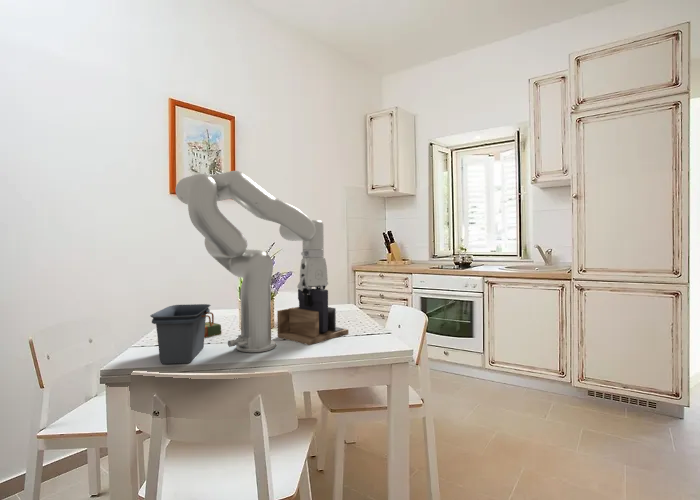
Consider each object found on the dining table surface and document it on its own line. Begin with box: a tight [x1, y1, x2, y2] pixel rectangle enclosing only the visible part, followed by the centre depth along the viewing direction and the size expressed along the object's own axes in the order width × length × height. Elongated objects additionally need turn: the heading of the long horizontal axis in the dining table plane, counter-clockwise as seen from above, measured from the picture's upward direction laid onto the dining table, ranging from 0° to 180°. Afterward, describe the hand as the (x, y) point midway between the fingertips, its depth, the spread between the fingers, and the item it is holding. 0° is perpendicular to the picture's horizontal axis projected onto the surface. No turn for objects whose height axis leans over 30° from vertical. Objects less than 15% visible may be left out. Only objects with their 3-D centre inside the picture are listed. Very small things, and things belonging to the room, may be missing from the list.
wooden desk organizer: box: [276, 306, 349, 346], centre depth 151 cm, size 20×16×10 cm
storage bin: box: [149, 303, 215, 365], centre depth 126 cm, size 21×16×14 cm
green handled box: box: [204, 321, 222, 339], centre depth 150 cm, size 8×16×4 cm, turn 139°
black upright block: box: [297, 287, 329, 333], centre depth 150 cm, size 11×4×15 cm, turn 58°
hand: (313, 304), depth 150 cm, fingers closed on black upright block, 4 cm apart
